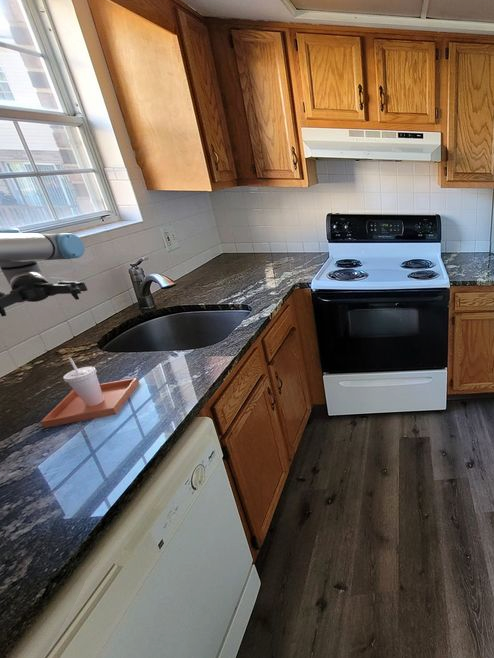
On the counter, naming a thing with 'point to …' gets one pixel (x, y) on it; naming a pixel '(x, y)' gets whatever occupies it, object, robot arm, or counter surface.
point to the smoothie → (85, 384)
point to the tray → (78, 410)
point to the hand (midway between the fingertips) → (40, 302)
